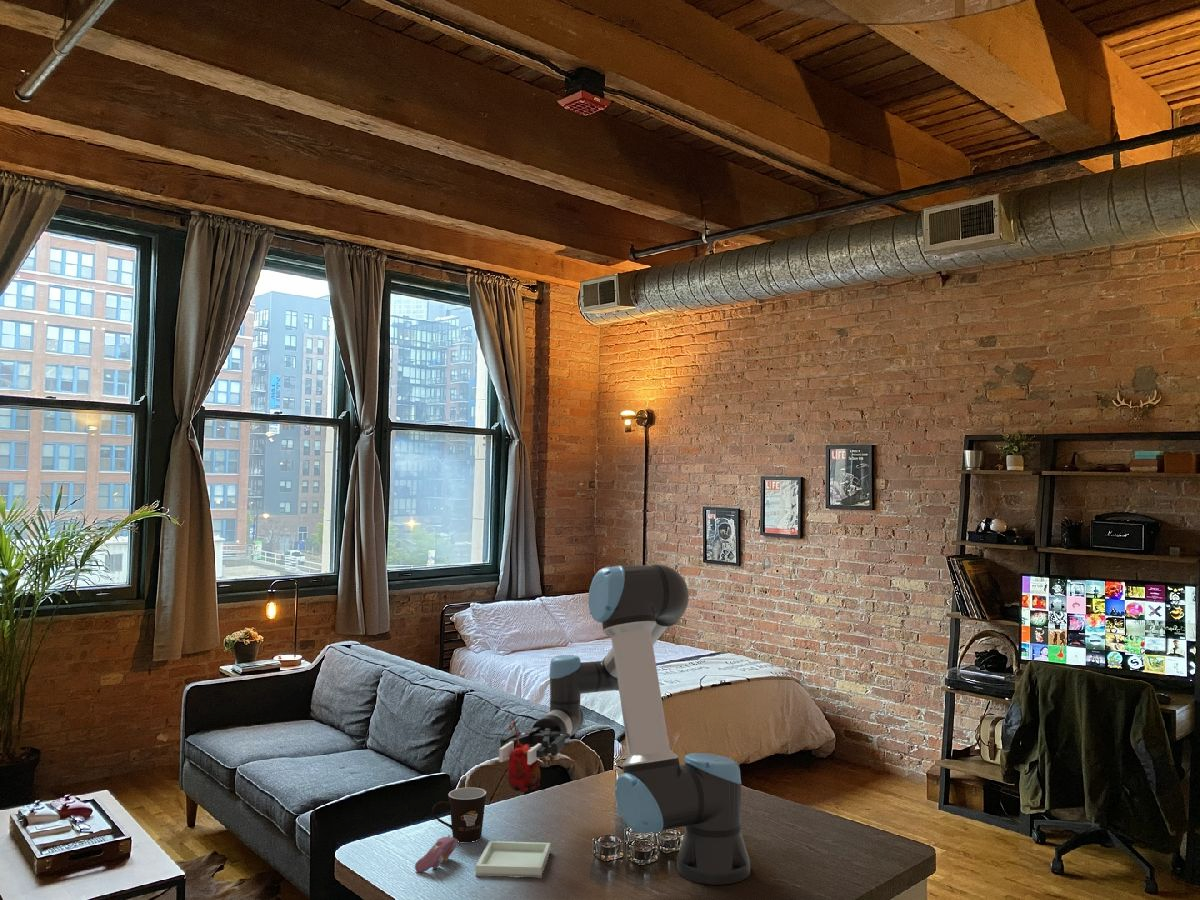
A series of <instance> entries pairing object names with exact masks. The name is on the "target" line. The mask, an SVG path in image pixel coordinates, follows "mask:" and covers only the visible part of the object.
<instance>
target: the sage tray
mask: <svg viewBox="0 0 1200 900" xmlns="http://www.w3.org/2000/svg"><path fill="white" fill-rule="evenodd" d="M551 845H552V844H551V842H539V841H538V842H536V841H535V842H533V841H531V842H530V841H505V840H504V841H502V840H501V841H499V840H497V841H496V840H489V841H488V842H487V844H486V846H485V848H484V850H483V852H482V853H481V856H480V857H479V859H478V860H477V863H476V864H475V877H489V876H509V877H508V878H515V877H514V876H520V877H521V876H523V877H541V876H542V877H543V875H542V873H543V874H544V872H545V869H544V868H546V867H545V865H546V866H547V864H548V861H549V858H548V857H550V856H549V854H550V855H551V853H550V852H551V851H552V849H551V848H552V847H551ZM547 860H548V861H547ZM546 863H547V864H546ZM543 871H544V872H543ZM510 876H512V877H510ZM542 877H541V878H542Z"/></svg>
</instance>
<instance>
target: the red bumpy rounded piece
mask: <svg viewBox="0 0 1200 900" xmlns="http://www.w3.org/2000/svg"><path fill="white" fill-rule="evenodd" d="M510 719H511V720H512V722H509V726H508V729H509V730H510V731H512V730H513V728H514V730H515V731H516V738H517V745H516V747H515V749H514V751H513V752H512V754H511V756H510V757H509V758H508V764H507V778H508V785H509V786H510V788H511V790H513V791H515V792H518V791H519V792H521V793H526V792H529V791H533V790H535V789H536V788H538V787H539V786H540V785H541V784H540V780H541V777H542V775H541V769H540V763H539V759H537V760H536V761H535V762H534V763H532V764H531V765H529V764H527V753H528V751H529V750H530V749H531V748H532V747H530V746H529V745H528V744H527V745H524V746H523V745H522V744H520V742H519V739H518V735H519V734H518V733H517V729H518V728H517V724H518V723H519V722H520V720H518V721H515V720H514V718H513V717H510Z"/></svg>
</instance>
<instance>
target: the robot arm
mask: <svg viewBox="0 0 1200 900" xmlns="http://www.w3.org/2000/svg"><path fill="white" fill-rule="evenodd" d="M677 571H678V570H677ZM677 571H676V570H675V569H673V568H672V567H670V566H668V565H663V564H649V565H647V564H646V565H645V564H643V565H641V564H640V565H638V564H637V565H619V564H618V565H615V566H607V567H603V568H601V569H599V570H598V571H597V572H596V574H595V575H594V576H593V577H592V579H591V580H592V581H591V584H590V587H589V591H588V610H589V613H590V614H589V615H591V618H592V619H593V620H594V621H595V622H597V623H600V624H601V625H602V630H603V633H604V634H605V635H606V636H608V637H609V638H610V639H611V644H612V645H611V646H612V647H611V649H610V650H609V651H608V652H607V654H606V655H605V656H604V658H603V659H602V660H596V661H584V662H582V661H581V658H580V656H578V655H573V654H560V655H555V656H553V657H552V658H551V659H550V665H549V695H550V697H549V712H548V713H546V714H544V715H543V716H542V717H540V718H539V719H537V720H536V721H535V722H534V724H533V726H532V728H531V729H528V730H527V731H525V732H522V730H520V729H518V728H516V729H517V733H518V734H519V735H518V739H519V742H520V744H522V745H523V746H524V745H527V744H528V745H529V746H530V747H531V749H530V750H529V751H528V753H527V764H529V765H531V764H532V763H534V762H535V761H536V760H537V759H538V760H539V759H541V758H543V757H547V756H548V755H549V754H550V756H553V757H555V756H557V755H558V754H560V752H561V751H562V750H563V749H564V748H565V747H566V748H567V747H569V746H570V743H571V742H570V741H571V737H572V736H574V735H575V734H577V733H578V732H579V731H580V729H581V728H582V727H583V725H584V722H585V720H586V719H585V718H586V715H585V711H584V708H583V707H582V705H581V695H582V694H590V693H591V694H592V693H600V692H610V691H618V692H619V693H618V694H619V699H620V700H619V701H620V706H621V707H620V708H621V712H622V719H623V720H622V721H623V726H624V734H625V741H626V746H627V747H626V748H627V753H628V754H627V756H626V759H625V761H624V762H623V763H622V769H623V770H622V771H623V773H622V774H621V775H619V776H618V777H617V779H616V781H615V786H616V787H615V788H614V795H615V803H616V805H617V808H618V810H619V811H618V812H619V814H620V816H621V818H622V820H623V822H625V823H626V825H627V827H628V828H629V829H630V830H631V831H633V832H635V833H637V834H640V835H642V834H643V835H644V834H651V833H653V834H658V833H661V832H663V831H668V830H672V829H677V828H682V827H685V829H684V834H683V836H682V841H681V844H680V847H679V850H678V853H677V856H676V869H677V870H676V871H677V873H679V875H681V877H683V878H685V879H687V880H690V881H692V882H695V883H697V884H698V883H699V884H704V885H706V884H707V885H715V886H716V885H719V886H721V885H732V884H736V883H739V882H742V881H745V880H746V879H747V878H748V877H749V876H750V874H751V859H750V856H749V853H748V850H747V847H746V844H745V841H744V838H743V834H742V807H741V806H742V802H741V801H742V800H741V799H742V795H741V792H742V791H741V789H742V788H741V785H742V779H741V769H740V765H739V764H738V763H737V761H735V760H733V759H732V758H729V757H727V756H723V755H718V754H712V753H707V752H704V753H703V752H690V753H687V754H686V755H685V756H684V759H683V763H684V764H680V760H679V756H678V754H676V753H675V752H674V751H672V750H671V748H670V743H669V742H670V741H669V736H668V731H667V725H666V718H665V711H664V706H663V699H662V693H661V687H660V686H661V685H660V680H659V676H658V675H659V674H658V667H657V662H656V656H655V651H654V650H655V649H654V645H655V643H657V641H658V640H659V638H661V636H662V635H663V634H664V632H665V631H666V630H667V628H671V627H673V626H675V625H676V624H677V623H678V622H679V621H680V620H681V618H682V617H683V616H684V615H685V613H686V611H687V608H688V606H689V599H690V598H689V597H690V596H689V588H688V586H687V582H686V581H685V579H684V578H683V576H682V575H681V574H680V573H679V572H677ZM499 740H500V744H499V745H500V748H498V763H503V762H505V761H506V760H507V759H508V760H509V758H510V756H511V754H512V752H513V751H514V749H515V747H516V745H517V738H516V731H515V729H514V730H513V731H512V733H510V734H507V735H505V736H504V737H503V738H500V739H499Z"/></svg>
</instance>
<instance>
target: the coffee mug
mask: <svg viewBox="0 0 1200 900" xmlns="http://www.w3.org/2000/svg"><path fill="white" fill-rule="evenodd" d="M447 795H448V802H446V801H443V800H442V801H438V802H436V803H435V804H434V805H433V806H432V810H431V812H432V816H433V817H434V819H435V820H437V821H438V822H439V823H441V824H443V825H444V826H446V827H448V828H450V830H452V831H451V833H452V836H453V837H454V838H455V839H457V840H458V841H459V842H472V841H476V840H478V839H480V838H481V839H482V833H483V832H482V831H483V824H484V816H485V815H484V814H485V808H486V799H487V791H486V790H485V789H483V788H480V787H460V788H454V790H451V791H449V793H448V794H447ZM440 805H444V806H446V808H447V810H448V811H449V813H450V821H451V824H449V823H448V822H446V821H444V820H442V819H440V818H439V817H438V816H437V815H436V813H435V811H436V808H437V807H438V806H440ZM481 839H480V840H481ZM478 841H479V840H478ZM476 842H477V841H476ZM472 843H473V842H472Z"/></svg>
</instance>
